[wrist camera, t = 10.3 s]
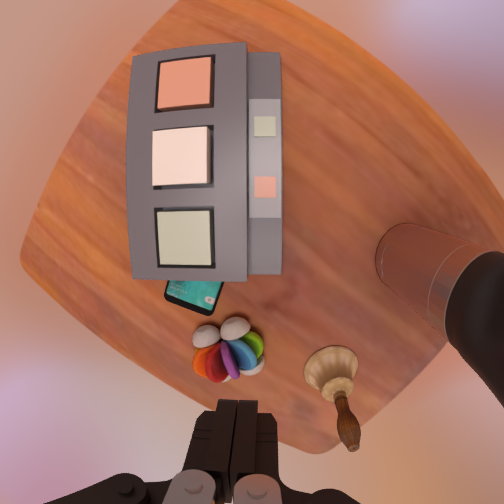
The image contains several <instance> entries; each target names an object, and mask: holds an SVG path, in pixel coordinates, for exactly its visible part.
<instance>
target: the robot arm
mask: <svg viewBox="0 0 504 504" xmlns="http://www.w3.org/2000/svg"><path fill="white" fill-rule="evenodd" d="M376 269H377V272H378V275H379V277H380V278H381V280H382V281H383V282H384V283H385V284H386V285H387V286H388V287H389V288H390V289H391V290H393V291H394V292H395V293H396V294H397V295H398V296H399V297H400V298H401V299H403V300H404V301H405V302H406V303H407V304H408V305H409V306H410V307H411V308H413V309H414V310H415V311H416V312H417V313H418V314H419V315H420V316H421V317H422V318H423V319H425V320H426V321H427V322H428V323H429V324H430V325H431V326H432V327H433V328H434V329H435V330H436V331H438V332H439V333H440V334H441V335H442V336H443V337H444V338H445V339H446V340H447V341H448V342H449V343H450V344H451V345H452V346H453V347H454V348H456V349H457V350H458V352H459V353H460V355H461V356H462V357H463V359H464V360H465V361H466V362H467V363H468V364H469V365H470V367H471V368H472V369H473V370H474V371H475V372H476V373H477V374H478V375H479V376H480V378H481V379H482V380H483V381H484V382H485V384H486V385H487V386H488V387H489V389H490V390H491V391H492V393H493V394H494V395H495V397H496V398H497V399H498V400H499V402H500V403H501V405H502V406H503V407H504V254H503V253H501V252H498V251H495V250H492V249H490V248H487V247H484V246H481V245H478V244H475V243H472V242H469V241H466V240H463V239H460V238H457V237H454V236H451V235H448V234H444V233H441V232H438V231H435V230H432V229H429V228H425V227H422V226H418V225H415V224H410V223H404V224H399V225H397V226H395V227H393V228H392V229H391V230H389V231H388V232H387V233H386V234H385V235H384V237H383V238H382V240H381V241H380V243H379V246H378V249H377V253H376ZM232 497H233V503H234V504H360V503H359V502H357V501H356V500H354V499H352V498H351V497H350V496H348V495H347V494H345V493H343V492H342V491H339V490H335V489H322V490H319V491H316V492H314V493H313V494H309V493H304V492H299V491H295V490H292V489H290V488H288V487H287V486H286V485H284V484H283V483H282V481H281V480H280V477H279V472H278V437H277V422H276V420H275V419H274V417H273V415H272V414H271V413H258V400H239V402H238V400H227V399H219V400H218V403H217V408H216V411H204V412H203V413H202V414H201V415H200V416H199V417H198V418H197V420H196V424H195V427H194V431H193V434H192V439H191V441H190V445H189V448H188V452H187V456H186V459H185V463H184V466H183V469H182V471H181V472H180V473H178V474H177V475H176V476H175V477H174V478H173V479H171V480H168V481H162V482H143V480H142V479H141V478H139V477H138V476H136V475H133V474H129V473H121V474H117V475H114V476H112V477H110V478H108V479H106V480H103V481H101V482H99V483H96V484H94V485H92V486H89V487H87V488H85V489H82V490H80V491H77V492H75V493H72V494H70V495H67V496H64V497H61V498H59V499H56V500H53V501H50V502H47V503H44V504H224V503H231V501H232Z"/></svg>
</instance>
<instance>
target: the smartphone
mask: <svg viewBox="0 0 504 504" xmlns="http://www.w3.org/2000/svg"><path fill="white" fill-rule="evenodd" d="M223 284H224V282H217V281H176V280H168V282H167V285H166V289H165V293H164V297H165V299H166V300H167V301H169V302H171V303H174V304H177V305H179V306H182V307H184V308H187V309H190V310H192V311H195V312H198V313H200V314H203V315H206V316H210V315H212V314H213V312H214V310H215V307H216V304H217V301H218V298H219V295H220V292H221V290H222V287H223Z"/></svg>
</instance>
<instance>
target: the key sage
mask: <svg viewBox="0 0 504 504" xmlns="http://www.w3.org/2000/svg"><path fill="white" fill-rule="evenodd" d="M157 218H158V238H159V253H160V264H176V265H211V264H212V263H213V261H214V260H215V259H214V224H213V209H194V210H164V211H160V212H157Z"/></svg>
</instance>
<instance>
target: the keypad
mask: <svg viewBox="0 0 504 504" xmlns="http://www.w3.org/2000/svg"><path fill="white" fill-rule="evenodd" d="M205 57H211V59H212V61H213V63H214V91H213V108H202V109H190V110H180V111H170V112H162V111H161V110H159V109H158V92H159V78H160V66H161V63H165V62H172V61H179V60H187V59H195V58H205ZM192 127H208V128H209V129H210V130H211V183H202V184H178V185H154V186H152V143H153V131H160V130H170V129H180V128H192ZM126 197H127V220H128V235H129V248H130V259H131V269H132V278H133V279H146V280H176V281H217V282H247V280H248V274H281V264H282V98H281V63H280V53H277V52H252V53H248V51H247V44H246V42H237V43H220V44H208V45H198V46H190V47H182V48H175V49H169V50H163V51H157V52H152V53H147V54H142V55H137V56H133V60H132V68H131V78H130V88H129V100H128V115H127V138H126ZM194 209H213V224H214V259H215V260H214V261H213V263H212V264H211V265H176V264H160V253H159V238H158V218H157V212H160V211H164V210H194Z"/></svg>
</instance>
